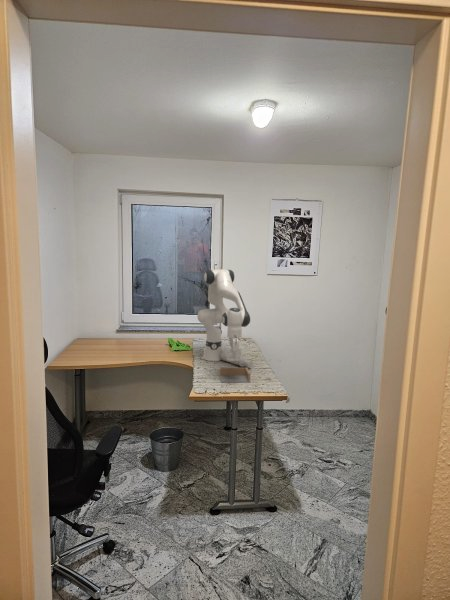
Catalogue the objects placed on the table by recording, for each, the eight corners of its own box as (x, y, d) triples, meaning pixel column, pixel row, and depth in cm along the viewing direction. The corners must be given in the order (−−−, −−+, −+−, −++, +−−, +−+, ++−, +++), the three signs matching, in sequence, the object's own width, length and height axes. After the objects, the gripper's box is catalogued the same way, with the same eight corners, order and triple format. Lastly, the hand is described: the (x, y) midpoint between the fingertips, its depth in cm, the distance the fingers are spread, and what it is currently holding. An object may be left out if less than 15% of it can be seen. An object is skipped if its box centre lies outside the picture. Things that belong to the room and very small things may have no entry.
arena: (219, 376, 237) (220, 367, 236) (247, 375, 238) (247, 367, 238) (221, 382, 224) (221, 373, 223) (250, 382, 226) (250, 373, 225)
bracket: (240, 358, 229) (240, 349, 229) (241, 360, 225) (241, 351, 225) (226, 358, 229) (226, 349, 228) (227, 360, 225) (227, 351, 224)
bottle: (216, 356, 272) (243, 367, 249) (222, 345, 274) (249, 355, 251) (224, 361, 277) (251, 372, 254) (229, 351, 279) (256, 361, 256)
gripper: (241, 337, 217) (240, 359, 218) (237, 331, 237) (237, 351, 238) (231, 337, 216) (230, 360, 217) (227, 330, 236) (227, 351, 238)
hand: (233, 355), depth 228 cm, fingers closed on bracket, 2 cm apart
